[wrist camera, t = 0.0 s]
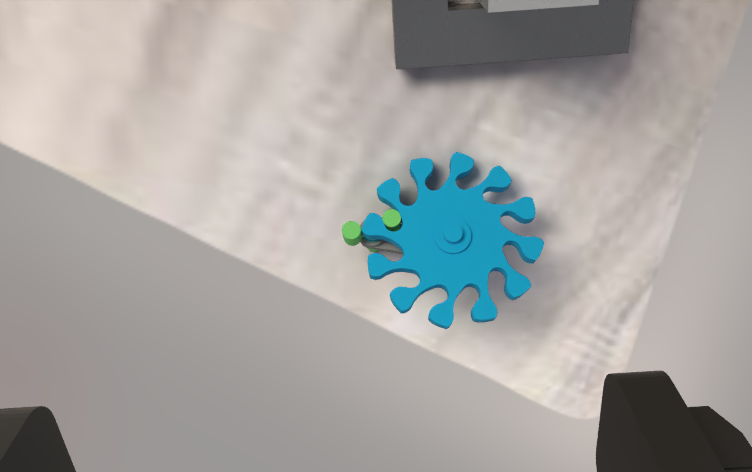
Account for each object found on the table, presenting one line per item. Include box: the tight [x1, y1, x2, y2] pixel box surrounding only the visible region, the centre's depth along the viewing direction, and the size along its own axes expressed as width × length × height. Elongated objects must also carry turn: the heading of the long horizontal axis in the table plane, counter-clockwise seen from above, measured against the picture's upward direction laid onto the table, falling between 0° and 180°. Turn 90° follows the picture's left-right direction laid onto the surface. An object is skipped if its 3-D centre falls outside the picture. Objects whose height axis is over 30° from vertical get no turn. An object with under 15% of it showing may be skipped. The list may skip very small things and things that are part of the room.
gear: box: [342, 152, 544, 329], centre depth 39 cm, size 11×6×10 cm
